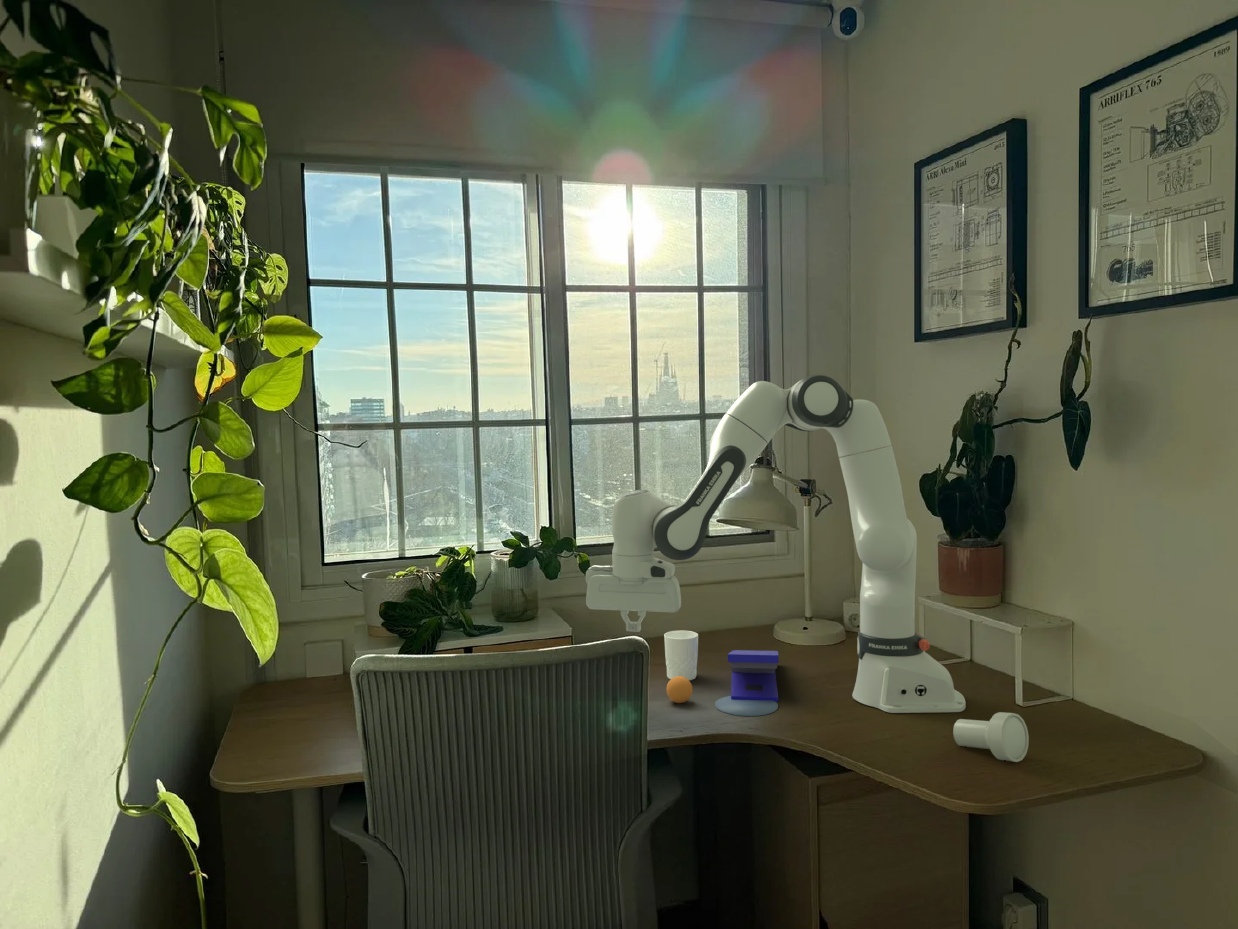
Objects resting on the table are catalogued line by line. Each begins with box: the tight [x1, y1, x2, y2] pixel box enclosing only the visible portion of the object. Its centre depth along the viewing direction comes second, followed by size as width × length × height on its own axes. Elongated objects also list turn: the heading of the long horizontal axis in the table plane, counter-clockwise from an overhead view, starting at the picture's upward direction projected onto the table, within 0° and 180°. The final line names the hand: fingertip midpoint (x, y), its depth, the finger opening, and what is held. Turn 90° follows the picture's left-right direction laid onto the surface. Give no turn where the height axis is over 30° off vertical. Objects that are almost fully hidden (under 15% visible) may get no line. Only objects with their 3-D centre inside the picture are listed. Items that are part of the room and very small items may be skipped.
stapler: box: [727, 649, 780, 703], centre depth 198 cm, size 12×28×10 cm, turn 172°
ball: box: [665, 676, 694, 704], centre depth 184 cm, size 6×6×6 cm
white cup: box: [663, 630, 699, 681], centre depth 202 cm, size 8×8×10 cm
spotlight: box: [952, 711, 1030, 763], centre depth 154 cm, size 8×11×8 cm
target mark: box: [714, 695, 779, 717], centre depth 181 cm, size 13×13×1 cm
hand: (633, 630), depth 185 cm, fingers closed
